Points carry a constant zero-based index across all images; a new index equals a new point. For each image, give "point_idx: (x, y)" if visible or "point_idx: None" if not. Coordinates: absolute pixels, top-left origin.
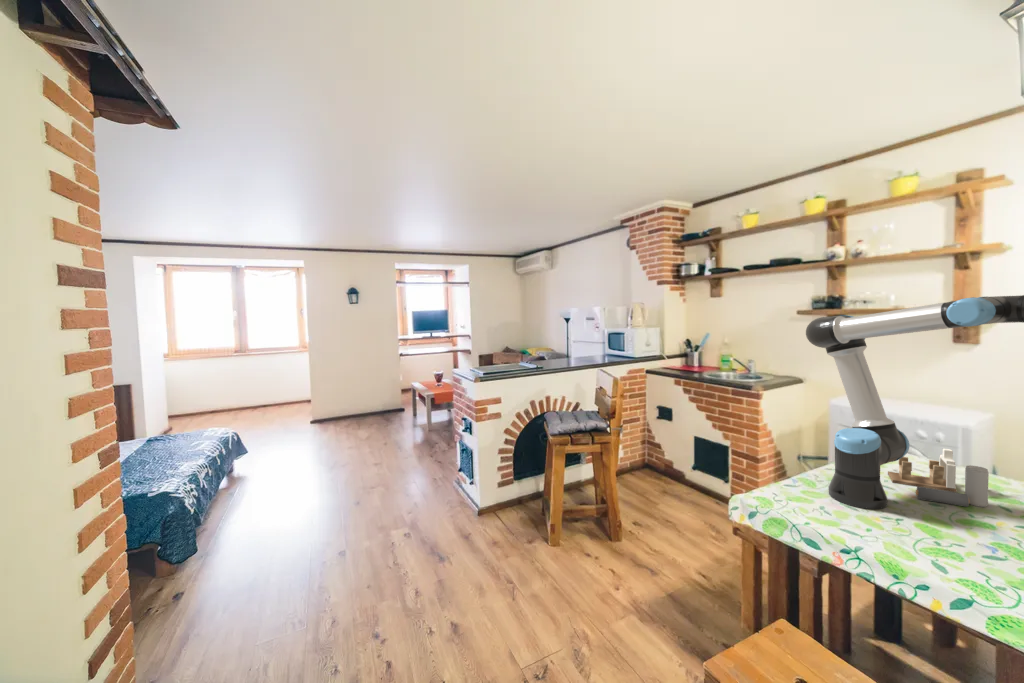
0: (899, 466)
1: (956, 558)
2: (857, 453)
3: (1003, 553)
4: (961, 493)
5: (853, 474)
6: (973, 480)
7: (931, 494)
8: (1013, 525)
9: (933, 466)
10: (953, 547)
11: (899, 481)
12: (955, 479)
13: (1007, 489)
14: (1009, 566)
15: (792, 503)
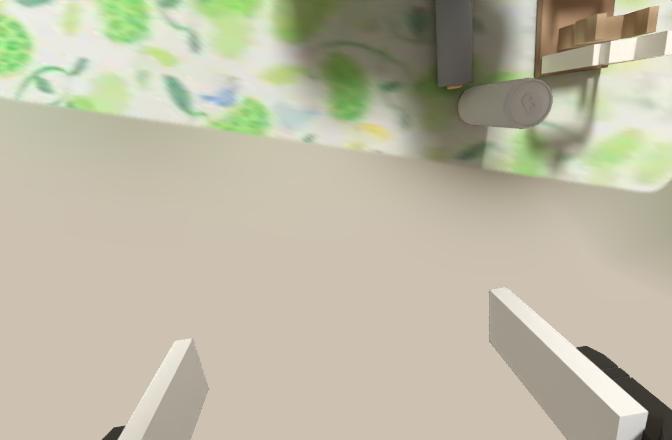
0: None
1: (116, 30)
2: None
3: (215, 113)
4: (464, 73)
5: None
6: (491, 95)
7: (440, 9)
8: (381, 150)
9: (601, 14)
10: (172, 31)
11: None
12: (559, 70)
13: (602, 173)
14: (158, 113)
15: None
